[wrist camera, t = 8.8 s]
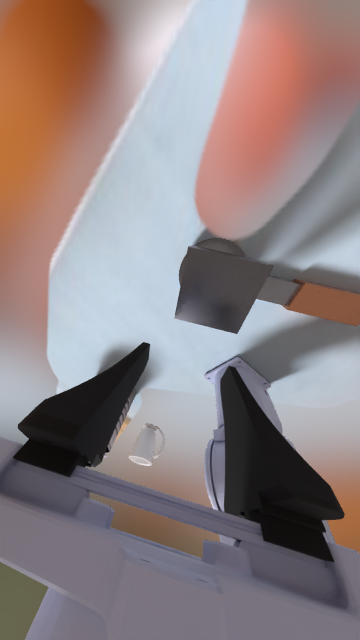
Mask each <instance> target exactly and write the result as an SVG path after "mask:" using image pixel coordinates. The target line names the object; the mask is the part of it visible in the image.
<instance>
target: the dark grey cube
mask: <svg viewBox="0 0 360 640" xmlns="http://www.w3.org/2000/svg"><path fill="white" fill-rule="evenodd" d="M272 268H273V266H272V265H269V264H266V263H263V262H260V261H257V260H254V259H251V258H248V257H244V256H240V255H236V254H231V253H227V252H222V251H218V250H213V249H209V248H205V247H200V246H196V245H194V246H189V247H188V251H187V256H186V261H185V266H184V271H183V277H182V282H181V287H180V292H179V297H178V302H177V307H176V312H175V317H174V318H176V319H180V320H184V321H188V322H192V323H196V324H200V325H203V326H207V327H211V328H215V329H219V330H223V331H227V332H231V333H235V334H237V333H238V331H239V330H240V328H241V326H242V324H243V322H244V320H245V318H246V317H247V315H248V313H249V311H250V309H251V307H252V305H253V304H254V302H255V300H256V298H257V296H258V294H259V292H260V291H261V289H262V287H263V285H264V283H265V281H266V279H267V277H268V276H269V274H270V272H271V270H272Z"/></svg>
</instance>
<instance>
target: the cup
mask: <svg viewBox="0 0 360 640" xmlns="http://www.w3.org/2000/svg"><path fill="white" fill-rule="evenodd" d="M156 429H159V428H158V427H156V426H154V425H152V424H144V428H143V429H142V430H141V432H140V434H139V436H138V437H137V440H136V442H135V444H134V446H133V448H132V450H131V452H130V454H129V456H128V457H129V458H130V460H131V461H133V462H135V463H137V464H141V465H145V466H149V465H152V460H153V458H157V457H159V455H160V454H161V453H162V450H163V447H164V444H165V436H164V434H163V432H162V431H161V430H160V429H159V431H160V432H161V434H162V436H163V443H162V446H161V449H160V451H159V452H158V453H157V454H156V455H153V453H154V446H155V435H156V433H155V431H156Z"/></svg>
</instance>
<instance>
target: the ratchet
mask: <svg viewBox="0 0 360 640" xmlns="http://www.w3.org/2000/svg"><path fill="white" fill-rule="evenodd" d="M196 246H200V247H205V248H209V249H213V250H218V251H222V252H227V253H231V254H236V255H240V256H244V257H246V256H245V254H244V253H243V251H242V250H241V249H240V248H239V247H238V246H237V245H236V244H234V243H233V242H231V241H229V240H225V239H220V238H213V239H208V240H205V241H202V242H200V243H198V244H197V245H196ZM186 256H187V254H186ZM186 256H185V257H184V259H183V261H182V263H181V266H180V270H179V282H180V286H181V282H182V277H183V271H184V266H185V261H186ZM256 299H259V300H264V301H268V302H272V303H276V304H280V305H282V306H283V307H284V308H286V309H287V310H291V311H295V312H299V313H303V314H308V315H312V316H316V317H320V318H324V319H329V320H333V321H337V322H341V323H345V324H350V325H354V326H358V325H359V324H360V293H356V292H351V291H347V290H343V289H338V288H334V287H329V286H325V285H321V284H316V283H312V282H307V281H303V280H298V279H295V280H294V281H290V280H286V279H281V278H277V277H272V276H268V277H267V279H266V281H265V283H264V285H263V287H262V289H261V291H260V292H259V294H258V296H257V298H256Z"/></svg>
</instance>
